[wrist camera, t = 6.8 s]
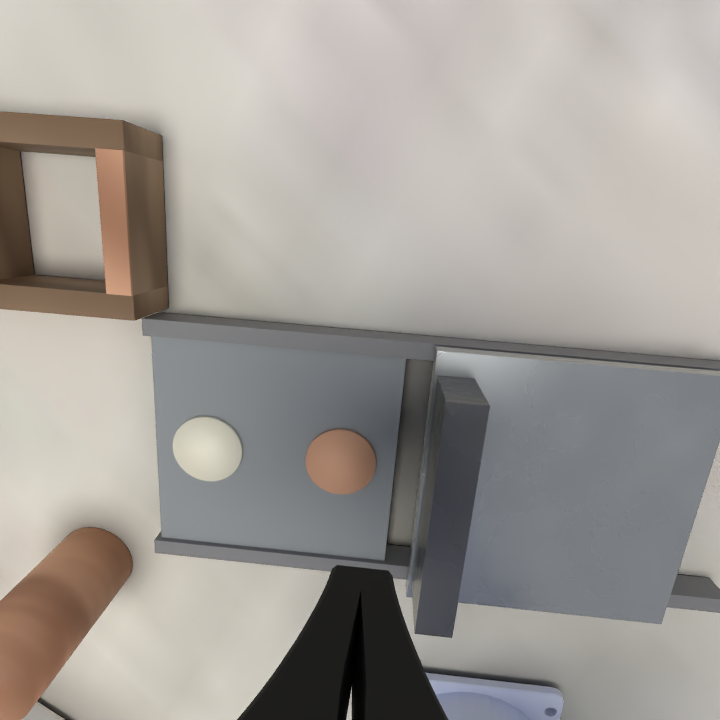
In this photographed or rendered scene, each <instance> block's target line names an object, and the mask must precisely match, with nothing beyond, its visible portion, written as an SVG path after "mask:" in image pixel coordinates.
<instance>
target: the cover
mask: <svg viewBox="0 0 720 720" xmlns="http://www.w3.org/2000/svg"><path fill="white" fill-rule="evenodd" d="M719 442H720V371H713V370H701V369H690V368H678V367H667V366H656V365H644V364H633V363H621V362H610V361H598V360H587V359H576V358H564V357H553V356H541V355H530V354H518V353H507V352H495V351H484V350H473V349H461V348H450V347H438V346H435V354H434V362H433V370H432V379H431V387H430V395H429V403H428V411H427V419H426V427H425V435H424V443H423V451H422V459H421V467H420V475H419V483H418V491H417V499H416V507H415V515H414V523H413V531H412V539H411V547H410V555H409V563H408V571H407V580H406V597H412V599H413V615H414V631H415V634H422V635H431V636H440V637H450V638H452V635H453V629H454V623H455V617H456V611H457V605H458V602H460V603H469V604H478V605H488V606H497V607H506V608H516V609H525V610H534V611H544V612H553V613H562V614H572V615H581V616H590V617H599V618H609V619H618V620H627V621H637V622H646V623H655V624H661V623H662V620H663V617H664V614H665V611H666V608H667V604H668V601H669V598H670V595H671V592H672V589H673V586H674V583H675V579H676V576H677V573H678V570H679V567H680V564H681V561H682V557H683V554H684V551H685V548H686V545H687V542H688V539H689V536H690V532H691V529H692V526H693V523H694V520H695V517H696V514H697V510H698V507H699V504H700V501H701V498H702V495H703V492H704V489H705V485H706V482H707V479H708V476H709V473H710V470H711V467H712V463H713V460H714V457H715V454H716V451H717V448H718V445H719Z"/></svg>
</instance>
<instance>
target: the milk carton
mask: <svg viewBox="0 0 720 720" xmlns="http://www.w3.org/2000/svg"><path fill="white" fill-rule="evenodd" d="M22 720H65V719H63V718H62V717H60V716H59V715H57V714H56V713H54V712H53V711H51V710H50V709H48V708H46V707H45V706H43V705H42V704H40V703H39V702H36V703H35V705H34V706H33V707H32V709H31V710H30V711H29V713H28V714H27V715H26V716H25V717H24V718H23V719H22Z"/></svg>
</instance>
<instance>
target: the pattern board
mask: <svg viewBox="0 0 720 720" xmlns="http://www.w3.org/2000/svg"><path fill="white" fill-rule="evenodd" d="M142 330H143V335H144V336H151V340H152V360H153V379H154V399H155V418H156V437H157V457H158V476H159V496H160V515H161V532H160V533H159V535H158V536H157V537H156V539H155V540H154V542H155V553H162V554H171V555H180V556H190V557H199V558H209V559H218V560H228V561H237V562H246V563H256V564H265V565H275V566H284V567H294V568H303V569H312V570H322V571H331V570H332V568H333V567H335V566H336V565H343V566H352V567H362V568H371V569H380V570H388V571H389V572H390V573H391V574H392V575H393V578H397V579H407V571H408V563H409V555H410V547H406V546H397V545H387V544H386V542H387V533H388V524H389V514H390V505H391V496H392V486H393V477H394V468H395V458H396V449H397V440H398V430H399V421H400V412H401V402H402V393H403V384H404V374H405V365H406V359H415V360H426V361H434V354H435V346H438V347H450V348H461V349H473V350H484V351H495V352H507V353H518V354H530V355H541V356H553V357H564V358H576V359H587V360H598V361H610V362H621V363H633V364H644V365H656V366H667V367H678V368H690V369H701V370H713V371H720V361H714V360H703V359H691V358H680V357H668V356H657V355H645V354H633V353H622V352H610V351H599V350H587V349H576V348H564V347H553V346H541V345H530V344H518V343H506V342H495V341H483V340H472V339H460V338H449V337H437V336H426V335H414V334H403V333H391V332H380V331H368V330H356V329H345V328H333V327H322V326H310V325H299V324H287V323H276V322H264V321H253V320H241V319H230V318H218V317H206V316H195V315H183V314H172V313H160V312H158V313H155V314H153V315H150V316H147V317H145V318H142ZM667 607H671V608H680V609H690V610H699V611H708V612H718V613H720V589H719V588H718V587H717V586H716V585H715V584H714V583H713V581H712V580H711V579H710V578H706V577H696V576H687V575H677V576H676V579H675V583H674V586H673V589H672V592H671V595H670V598H669V601H668V604H667Z"/></svg>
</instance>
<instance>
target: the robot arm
mask: <svg viewBox="0 0 720 720" xmlns="http://www.w3.org/2000/svg"><path fill="white" fill-rule="evenodd" d="M351 687H352V720H560V717H561V713H562V709H563V705H564V699H563V697H562V694H561V692H560V691H559V690H558V689H557V688H553V687H547V686H538V685H530V684H521V683H512V682H503V681H494V680H485V679H477V678H468V677H459V676H450V675H441V674H432V673H425V671H424V669H423V666H422V664H421V662H420V659H419V657H418V655H417V652H416V649H415V647H414V644H413V642H412V639H411V637H410V634H409V632H408V629H407V626H406V623H405V621H404V618H403V615H402V611H401V608H400V605H399V602H398V598H397V595H396V591H395V587H394V582H393V575H392V574H391V573H390V572H389V571H388V570H380V569H371V568H362V567H352V566H343V565H336V566H335V567H333V568H332V570H331V574H330V577H329V579H328V582H327V584H326V586H325V589H324V591H323V593H322V595H321V597H320V599H319V601H318V603H317V605H316V607H315V609H314V610H313V612H312V614H311V616H310V617H309V619H308V621H307V623H306V624H305V626H304V628H303V629H302V631H301V633H300V635H299V636H298V638H297V639H296V641H295V642H294V644H293V645H292V647H291V648H290V650H289V651H288V653H287V654H286V656H285V657H284V659H283V660H282V662H281V663H280V665H279V666H278V668H277V669H276V671H275V672H274V673H273V675H272V676H271V678H270V679H269V680H268V682H267V683H266V684H265V686H264V687H263V688H262V690H261V691H260V692H259V693H258V695H257V696H256V697H255V698H254V700H253V701H252V702H251V704H250V705H249V706H248V707H247V709H246V710H245V711H244V712H243V713H242V714H241V716H240V717H239V718H238V719H237V720H346V716H347V711H348V705H349V699H350V693H351Z"/></svg>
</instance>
